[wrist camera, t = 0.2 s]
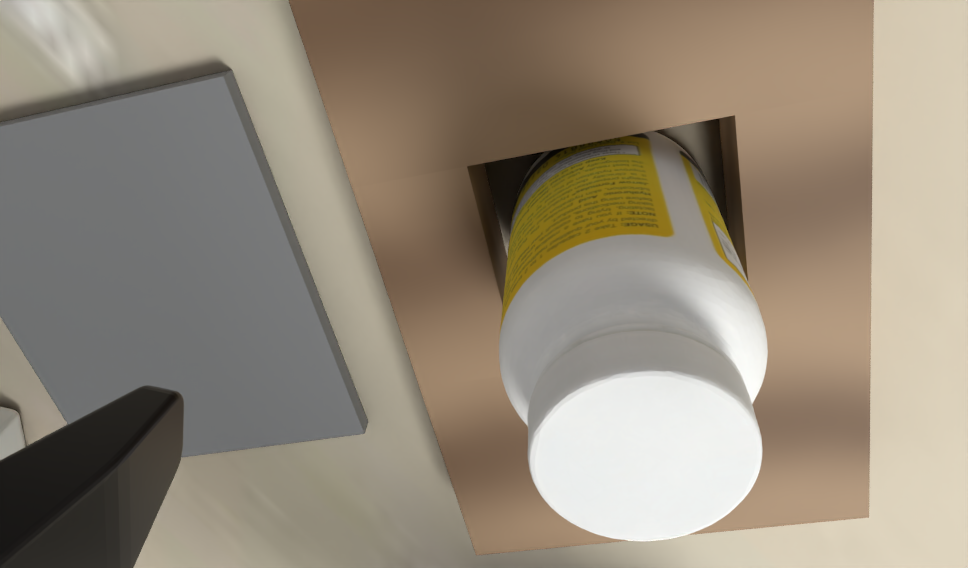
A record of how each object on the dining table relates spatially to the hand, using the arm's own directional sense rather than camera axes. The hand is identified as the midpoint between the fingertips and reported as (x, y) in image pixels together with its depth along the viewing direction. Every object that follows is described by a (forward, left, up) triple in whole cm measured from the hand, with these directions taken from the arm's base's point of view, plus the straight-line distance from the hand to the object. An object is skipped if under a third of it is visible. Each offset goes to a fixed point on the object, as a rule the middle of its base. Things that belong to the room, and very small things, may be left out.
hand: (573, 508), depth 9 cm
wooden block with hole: (-3, -1, -14) cm, 14 cm away
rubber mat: (-3, +13, -14) cm, 19 cm away
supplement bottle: (-3, -1, -14) cm, 14 cm away
